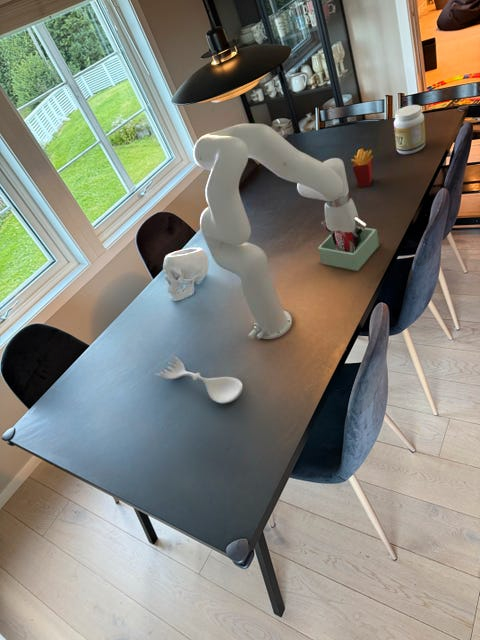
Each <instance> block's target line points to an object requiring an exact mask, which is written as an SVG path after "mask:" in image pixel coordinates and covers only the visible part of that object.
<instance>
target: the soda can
mask: <svg viewBox="0 0 480 640" xmlns="http://www.w3.org/2000/svg"><path fill="white" fill-rule="evenodd" d="M339 230H340V229H339ZM355 231H356V230H355ZM334 233H335V238H336V242H337V247H338V250H339V251H343V252H349V253H354V252H355V251H356V250H357V249H358V247H359V245H358V246H357V247H355V245H354V240H353V237H354V235H353V234H352V232H342V231H334Z"/></svg>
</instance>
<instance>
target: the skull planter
mask: <svg viewBox="0 0 480 640" xmlns="http://www.w3.org/2000/svg"><path fill="white" fill-rule="evenodd" d="M209 267H210V261H209V257H208V254H207V253H206V251H205V250H204V249H203V248H201V247H189V248H183V249H179V250H176V251H173V252H170V253H168V254H166V255H165V257H164V259H163V264H162V270H163V271H164V272H165V276H164V280H166V282H167V293H169V294H170V301H172V302H179V301H180V302H181V301H182V300H184V299H187V298H189V297H191V296H192V295H193V294H194V292H195V283H196V284H197V285H200V284H201V283H202V282H203V281H204V279H205V278H206V277H207V275H208V271H209ZM183 286H185V288H183Z"/></svg>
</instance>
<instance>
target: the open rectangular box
mask: <svg viewBox="0 0 480 640" xmlns="http://www.w3.org/2000/svg"><path fill="white" fill-rule="evenodd" d="M358 227H359V229H360V226H358ZM356 232H357V231H356ZM378 235H379V234H378V229H376V228H369V227H365V229H364V230H363V231H362V233H360V237H361V242H360V243H359V247H358V249H357V250H356V251H355V252H354V253H349V252H343V251H339V250H338V247H337V244H336V245H335V244H334V241H333V237H332V235H331V234H329V236H328V237H326V239H324V240H323V242H322V243H320V245H319V246H318V247H317V251H318V255H319V259H320V263H321V264H323V265H327V266H331V267H336V268H341V269H346V270H350V271H355V272H358V271H359V270H360V269H361V268H362V266H363V265H364V264H365V263H366V262H367V261H368V260H369V258H370V257H371V256H372V255H373V254H374V252H376V250H377V249H378V248H379V247H380V242H379V236H378Z"/></svg>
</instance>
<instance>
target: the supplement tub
mask: <svg viewBox="0 0 480 640" xmlns="http://www.w3.org/2000/svg"><path fill="white" fill-rule="evenodd" d="M394 114H395V115H394V121H393V128H394V139H395V148H396V152H398V153H399V154H400V155H412V154H415V153H417V152H420V151H421V150H422V149H423V148H424V147H426V130H425V129H426V128H425V114H424V113H423V110H422V106H421V105H420V104H410V105H405V106H403V107H401V108H399V109H398V110H396V111H395V113H394Z"/></svg>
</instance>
